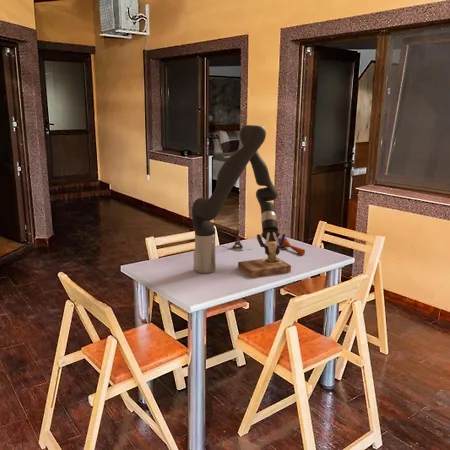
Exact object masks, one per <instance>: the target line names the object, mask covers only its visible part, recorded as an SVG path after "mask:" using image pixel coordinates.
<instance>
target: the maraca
mask: <svg viewBox="0 0 450 450" xmlns="http://www.w3.org/2000/svg"><path fill="white" fill-rule="evenodd" d="M278 242H279V243H281V239H280V236H279V237H278ZM280 248H284V249H286V248H291V250H293V251H294V252H296V254H298V255H300V256H304V255H305V253H306V251H305V249H304V248H300V247H297V246H295V245H291V243H290V241H289V239H288V238H287V237H285V238H284V242H283V245H282V247H280Z"/></svg>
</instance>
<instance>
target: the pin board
mask: <svg viewBox="0 0 450 450" xmlns="http://www.w3.org/2000/svg"><path fill="white" fill-rule="evenodd" d="M237 269H238V270H240V271H241V272H243V273H244V274H246V275H247V276H248V277H250V278H252V279H253V278H257V277H264V276H270V275H271V276H272V275H278V274H283V273H284V274H285V273H291V272H292V265H291V264H289V263H287V262H285V261H284V260H282V259H280V258H278V257H277V256H276V262H268V257H267V258H266V257H265V258H260V259H259V258H258V259H251V260H250V259H249V260H243V261H242V260H241V261H237Z"/></svg>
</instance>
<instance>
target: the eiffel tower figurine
mask: <svg viewBox="0 0 450 450" xmlns="http://www.w3.org/2000/svg"><path fill="white" fill-rule="evenodd" d="M236 227H237V228H236V229H237V231H236V238H235V239H236V240H235V242H234V245H232V247H227V249H228V250H231V251H234V252H243V251H244V246H243V245H242V243H241V240H240V236H239V225H237V226H236ZM250 250H251V248H249V249H248V251H250Z"/></svg>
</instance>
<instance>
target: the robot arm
mask: <svg viewBox="0 0 450 450" xmlns="http://www.w3.org/2000/svg"><path fill="white" fill-rule="evenodd" d="M239 131H240V132H239V138H240V142H241V143H242V147H240V149H238V151H236V152H234V153H233V154H232V155H231V156H229V157H228V158H227V159H226V160H225V161H224V163H222V166H220V169H219V171H218V173H217V176H216V185H215V189H214V191H213V193H212V194H211V196H210V197H209V198H205V197H204V198H203V197H198V198H196V199H195V201H194V202H193V204H192V207H191V213H192V214H191V217H192V227H193V231H194V249H193V270H194V271H195V272H196V273H197V274H211V273H214V272H215V271H216V228H215V226H214V225H213V224H212V223H211V221H213V220H215V218H217V216H218V215H219V213H220V211H221V210H222V207H223V205H224V204H225V201H226V200H227V197H228V195H229V194H230V192H231V191H232V190H233V187H234V186H235V184H236V183H237V181H238V180H239V178H240V176H241V175H242V173H243V172H244V170H245V168H246V166H247V165H248V164H249V162H250V165H251V169H252V171H253V174H254V179H255V183H256V184H257V186H262V188H258V189H257V190H256V192H255V197H256V199H257V201H258V203H259V207H260V214H261V215H260V216H261V218H260V219H261V221H260V223H261V229H262V230H261V231H262V233H261V234H259V233H257V234H256V239H257V242H258V243H259V246H260V247H261V248H264V253H265V255H266V256H268V254H269V250H268V242H269V241H275V242H277V247H276V256H279V254H280V252H281V251H280V248H281V247H282V245H283V242H284V238H286V234H285V233H282V234H281V233H280V231H279V226H278V217H277V214H276V213H277V211H276V205H275V204H274V203H273V202H272V201H276V200H277V198H278V191H277V189H276V186H275V185H274V184H273V181H272V180H271V176H270V172H269V168H268V166H267V164H266V161H265V160H264V159H263V158H262V156H261V155H260V152H258V150H259V149H260V148H261V146H262V145H264V144H263V143H264V142H265V139H266V137H267V136H266V135H267V133H266V132H267V131H266V129H265V127H263V126H261V125H253V124H245V125H243V126H242V128H240V130H239ZM279 237H280V239H281V243H279V242H278V238H279ZM262 238H263V239H264V240H265V242H263V239H262Z"/></svg>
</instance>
